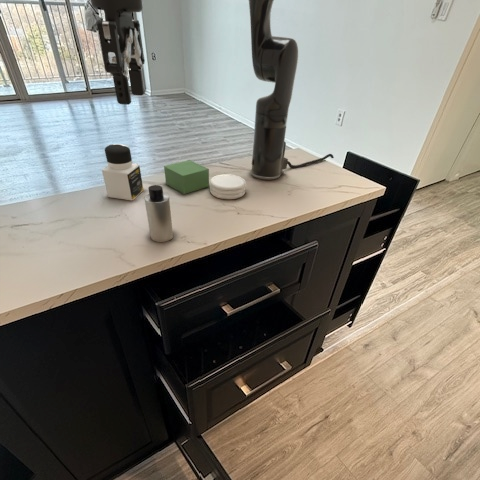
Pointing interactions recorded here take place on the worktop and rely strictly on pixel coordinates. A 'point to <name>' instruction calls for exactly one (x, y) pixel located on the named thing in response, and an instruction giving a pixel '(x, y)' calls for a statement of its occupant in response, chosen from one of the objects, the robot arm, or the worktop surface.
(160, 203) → the flask
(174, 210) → the worktop surface
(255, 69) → the robot arm
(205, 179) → the block
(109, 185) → the medicine bottle
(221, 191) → the white short cylinder
